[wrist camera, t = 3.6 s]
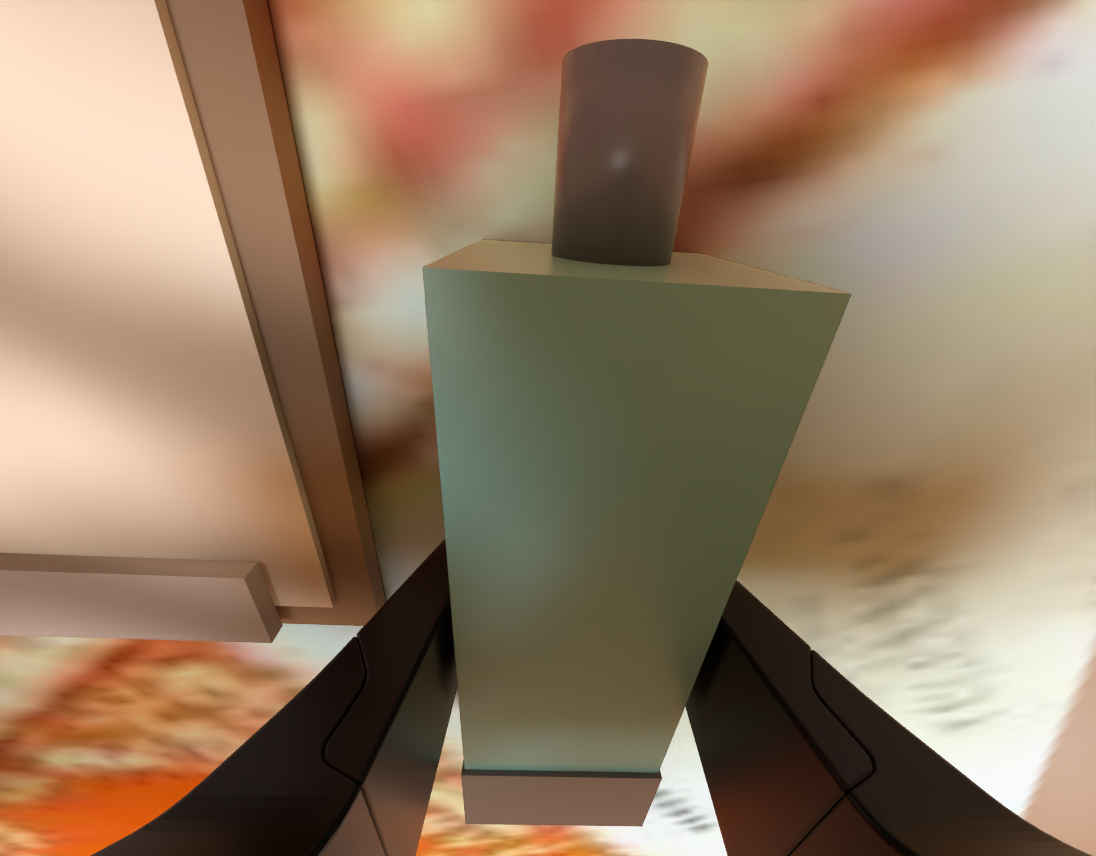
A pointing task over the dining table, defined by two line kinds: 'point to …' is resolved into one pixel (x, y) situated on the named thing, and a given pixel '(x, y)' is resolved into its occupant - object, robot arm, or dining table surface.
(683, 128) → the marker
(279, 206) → the clipboard
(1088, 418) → the dining table surface
